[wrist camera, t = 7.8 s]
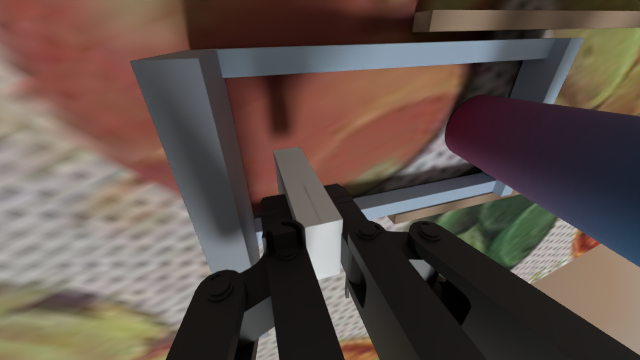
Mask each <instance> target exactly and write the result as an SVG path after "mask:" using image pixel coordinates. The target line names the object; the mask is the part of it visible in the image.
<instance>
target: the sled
mask: <svg viewBox="0 0 640 360" xmlns="http://www.w3.org/2000/svg"><path fill="white" fill-rule="evenodd" d="M583 39H584V38H534V39H503V40H473V41H442V42H412V43H381V44H351V45H320V46H290V47H259V48H229V49H198V50H185V51H180V52H175V53H170V54H165V55H159V56H154V57H149V58H144V59H139V60H134V61H130V63H131V66H132V68H133V71H134V73H135V76H136V79H137V81H138V84H139V86H140V89H141V91H142V94H143V97H144V99H145V102H146V104H147V107H148V110H149V112H150V115H151V117H152V120H153V123H154V125H155V128H156V130H157V133H158V135H159V138H160V141H161V143H162V146H163V148H164V151H165V154H166V156H167V159H168V161H169V164H170V167H171V169H172V172H173V174H174V177H175V179H176V182H177V185H178V187H179V190H180V192H181V195H182V198H183V200H184V203H185V205H186V208H187V211H188V213H189V216H190V218H191V221H192V223H193V226H194V229H195V231H196V234H197V236H198V239H199V242H200V244H201V247H202V249H203V252H204V255H205V257H206V260H207V262H208V265H209V267H210V270H211V273H212V274H213V273H215V272H217V271H221V270H226V269H228V270H235V271H237V272H239V273H241V272H243V271H245V270H247V269H248V268H250V267H252V266H253V265H255V264H256V263H257V262H258V261H259V260H260V255H259V246H258V245H261V244H263V243H262V232H263V231H262V223H261V217H260V218H255V219H254V215H253V210H252V205H251V200H250V196H249V191H248V186H247V181H246V177H245V172H244V167H243V162H242V158H241V153H240V148H239V143H238V139H237V134H236V129H235V124H234V120H233V115H232V110H231V105H230V100H229V96H228V91H227V86H226V81H225V78H233V77H249V76H266V75H282V74H299V73H315V72H331V71H348V70H364V69H381V68H397V67H413V66H430V65H446V64H462V63H479V62H495V61H512V60H523V63H522V66H521V68H520V71H519V74H518V76H517V79H516V82H515V84H514V87H513V90H512V93H511V95H510V98H511V99H519V100H526V101H533V102H540V103H547V104H553V103H554V101H555V99H556V97H557V95H558V93H559V91H560V89H561V86H562V84H563V82H564V80H565V78H566V76H567V74H568V71H569V69H570V67H571V65H572V63H573V61H574V59H575V57H576V54H577V52H578V50H579V48H580V46H581V44H582V42H583ZM512 191H513V189H512V188H510V187H509V186H507V185H505V184H504V183H502V182H500V181H499V180H497V179H496V178H494V177H492V176H491V175H489V174H487V173H486V172H484V171H483V170H482V173H478V174H473V175H468V176H463V177H458V178H453V179H448V180H443V181H438V182H433V183H428V184H423V185H418V186H413V187H408V188H403V189H398V190H393V191H388V192H384V193H379V194H374V195H369V196H364V197H359V198H354V199H353V200H354V202H355V203H356V204H357V205H358V207H359V208H360V210H361V211H362V212H363V214H364V215H365V216H366V218H367V219H368V220H370V219H375V218H379V217H383V216H388V215H392V214H396V213H401V212H405V211H410V210H414V209H418V208H423V207H427V206H431V205H436V204H440V203H445V202H449V201H453V200H458V199H462V198H466V197H471V196H475V195H479V194H484V193H488V192H494V193H495V194H497V195H499V196H500V197H502V196H506V195H510V194H511V193H512ZM266 336H268V331H267V332H266V333H265V334H263V335H262V336H260V337H259V339H260V338H263V337H266Z"/></svg>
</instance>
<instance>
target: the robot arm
mask: <svg viewBox="0 0 640 360" xmlns="http://www.w3.org/2000/svg"><path fill="white" fill-rule="evenodd" d="M273 152H274V160H275V167H276V175H277V182H278V190H279V194H280V195H276V196H270V197H265V198H263V199H262V201H261V203H260V205H259V209H260V216H261V223H262V231H263V232H262V243H263V248H264V253H263V256H262V257H261V259H260V260H259V261H258V262H257V263H256V264H255V265H253V266H252V267H250V268H248V269H247V270H245V271H243V272H241V273H239V272H237V271H235V270H228V269H226V270H221V271H217V272H215V273H213V274H211V275H209V276H208V277H207V278H205V279H204V280H203V281H202V282H201V283H200V285H199V286H198V288H197V289H196V291H195V293H194V295H193V298H192V300H191V302H190V305H189V307H188V309H187V311H186V314H185V316H184V318H183V321H182V323H181V325H180V328H179V330H178V332H177V335H176V337H175V339H174V342H173V344H172V346H171V349H170V351H169V353H168V355H167V358H166V360H256V354H257V347H258V340H259V337H260V336H262V335H263V334H265V333H266V332H267V331H269V330H270V329H272V328H273V327H274V326H275V331H276V339H277V346H278V353H279V360H345V359H344V356H343V353H342V350H341V347H340V344H339V341H338V338H337V336H336V333H335V330H334V327H333V324H332V321H331V318H330V315H329V312H328V309H327V306H326V303H325V300H324V297H323V294H322V292H321V289H320V286H319V283H318V280H319V279H323V278H326V277H330V276H333V275H337V274H341V264H342V266H343V268H344V271H345V273H346V283H345V295H346V298H349V292H350V294H351V296H352V299H353V301H354V303H355V305H356V307H357V310H358V312H359V314H360V316H361V319H362V321H363V323H364V325H365V328H366V330H367V332H368V334H369V336H370V339H371V341H372V343H373V345H374V348H375V350H376V352H377V354H378V357H379V359H380V360H640V355H638V354H637V353H635V352H634V351H632V350H631V349H629V348H628V347H626V346H625V345H623V344H621V343H620V342H618V341H617V340H615V339H614V338H612V337H611V336H609V335H608V334H606V333H605V332H603V331H602V330H600V329H598V328H597V327H595V326H594V325H592V324H591V323H589V322H588V321H586V320H585V319H583V318H582V317H580V316H578V315H577V314H575V313H574V312H572V311H571V310H569V309H568V308H566V307H565V306H563V305H562V304H560V303H558V302H557V301H555V300H554V299H552V298H551V297H549V296H547V295H546V294H545V293H543V292H542V291H540V290H538V289H537V288H535V287H534V286H532V285H531V284H529V283H528V282H526V281H525V280H523V279H522V278H520V277H518V276H517V275H515V274H514V273H512V272H511V271H509V270H508V269H506V268H505V267H503V266H501V265H500V264H498V263H497V262H495V261H494V260H492V259H491V258H489V257H488V256H486V255H485V254H483V253H481V252H480V251H478V250H477V249H475V248H474V247H472V246H471V245H469V244H468V243H466V242H465V241H463V240H461V239H460V238H458V237H457V236H455V235H454V234H452V233H451V232H449V231H448V230H446V229H445V228H443V227H441V226H439V225H437V224H435V223H432V222H428V221H418V222H415V223H413V224H412V225H411V226H410V229H409V232H392V231H386V230H385V229H384V228H383V227H382V226H381V225H380V224H378V223H375V222H373V221H369V220H368V219H367V218H366V216H365V215H364V214H363V212H362V211H361V210H360V208H359V207H358V205H357V204H356V203H355V202H354V200H353V199H352V197H351V196H350V195H349V193H348V192H347V190H346V189H345V188H343V187H342V186H340V185H338V184H332V185H327V186H323V185H322V183H321V182H320V180H319V178H318V177H317V175H316V173H315V172H314V170H313V168H312V167H311V165H310V163H309V162H308V160H307V158H306V157H305V155H304V153H303V151H302V150H301V148H300V147H294V148H287V149H279V150H273ZM439 273H440V274H441V275H442V276H444V277H445V278H446V279H443V278H441V277H440V276H439Z"/></svg>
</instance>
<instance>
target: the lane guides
mask: <svg viewBox="0 0 640 360" xmlns="http://www.w3.org/2000/svg"><path fill="white" fill-rule="evenodd" d="M593 28H640V11H544V10H429V11H423V12H416V13H415V16H414V23H413V29H412V32H449V31H497V30H545V29H593ZM518 194H520V193H518V192H517V191H515V190H513V191H512V193H511V194H510V195H506V196H502V197H500V196H499V195H497V194H495V193H494V192H488V193H484V194H479V195H475V196H471V197H466V198H462V199H458V200H453V201H449V202H445V203H440V204H436V205H431V206H427V207H423V208H418V209H414V210H410V211H405V212H401V213H396V214H392V215H388V218H389V219H390V220H391V221H392V222H393V223H394V224H398V223H402V222H406V221H410V220H415V219H419V218H423V217H427V216H431V215H435V214H440V213H444V212H448V211H452V210H456V209H460V208H464V207H469V206H473V205H477V204H481V203H485V202H489V201H493V200H498V199H502V198H506V197H510V196H514V195H518Z"/></svg>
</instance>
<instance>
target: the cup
mask: <svg viewBox="0 0 640 360" xmlns="http://www.w3.org/2000/svg"><path fill="white" fill-rule="evenodd" d="M445 141H446V145H447V147H448V148H449V150H451V151H452V152H453V153H455V154H457V155H458V156H460V157H461V158H463V159H465V160H466V161H468V162H470V163H471V164H473V165H474V166H476V167H478V168H479V169H481V170H483V171H484V172H486V173H487V174H489V175H491V176H492V177H494V178H496V179H497V180H499V181H500V182H502V183H504V184H505V185H507V186H509V187H510V188H512V189H513V190H515V191H517V192H518V193H520V194H522V195H523V196H525V197H526V198H528V199H530V200H531V201H533V202H535V203H536V204H538V205H540V206H541V207H543V208H544V209H546V210H548V211H549V212H551V213H553V214H554V215H556V216H557V217H559V218H561V219H562V220H564V221H566V222H567V223H569V224H570V225H572V226H574V227H575V228H577V229H579V230H580V231H582V232H583V233H585V234H587V235H588V236H590V237H592V238H593V239H595V240H596V241H598V242H600V243H601V244H603V245H605V246H607V247H608V248H609V249H611V250H613V251H614V252H616V253H618V254H619V255H621V256H623V257H624V258H626V259H627V260H629V261H631V262H632V263H634V264H635V265H637V266H639V267H640V116H633V115H626V114H619V113H611V112H604V111H597V110H590V109H583V108H576V107H569V106H561V105H554V104H547V103H540V102H533V101H526V100H519V99H511V98H504V97H497V96H490V95H477V96H474V97H472V98H470V99H468V100H467V101H465V102H464V103H463V104H462V105H461V106H460V107H459V108H458V109H457V110H456V111H455V112H454V114H453V115H452V117H451V119H450V121H449V123H448V125H447V129H446V134H445Z"/></svg>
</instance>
